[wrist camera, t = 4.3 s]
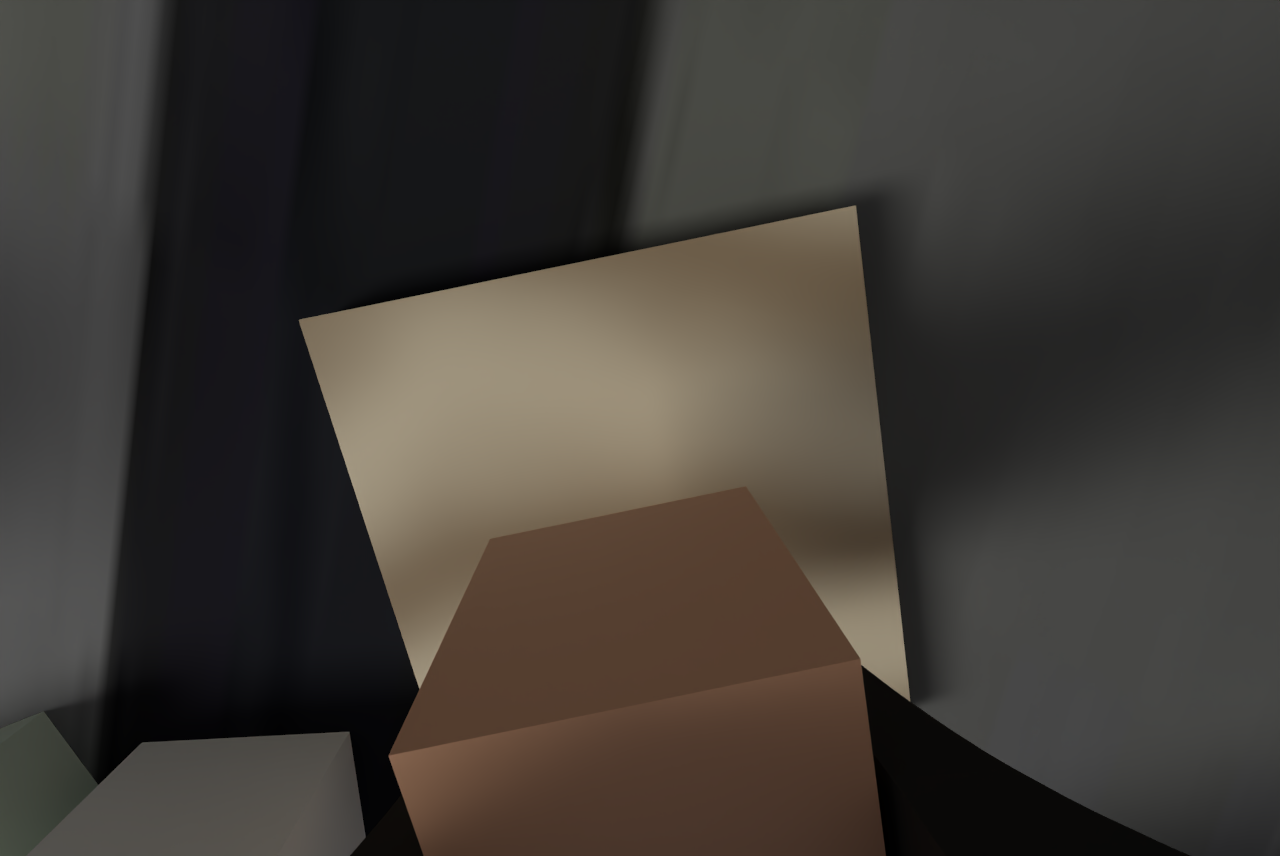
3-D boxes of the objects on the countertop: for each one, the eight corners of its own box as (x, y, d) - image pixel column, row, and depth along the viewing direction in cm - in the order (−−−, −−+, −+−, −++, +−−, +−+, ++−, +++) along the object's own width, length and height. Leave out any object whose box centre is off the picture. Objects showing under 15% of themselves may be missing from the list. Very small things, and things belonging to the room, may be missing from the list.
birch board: (892, 714, 19) (915, 750, 18) (480, 798, 19) (469, 841, 18) (832, 212, 16) (855, 205, 14) (327, 316, 16) (298, 319, 14)
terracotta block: (793, 772, 12) (917, 1103, 7) (567, 818, 12) (539, 1182, 7) (745, 486, 11) (859, 658, 6) (489, 538, 11) (388, 755, 6)
